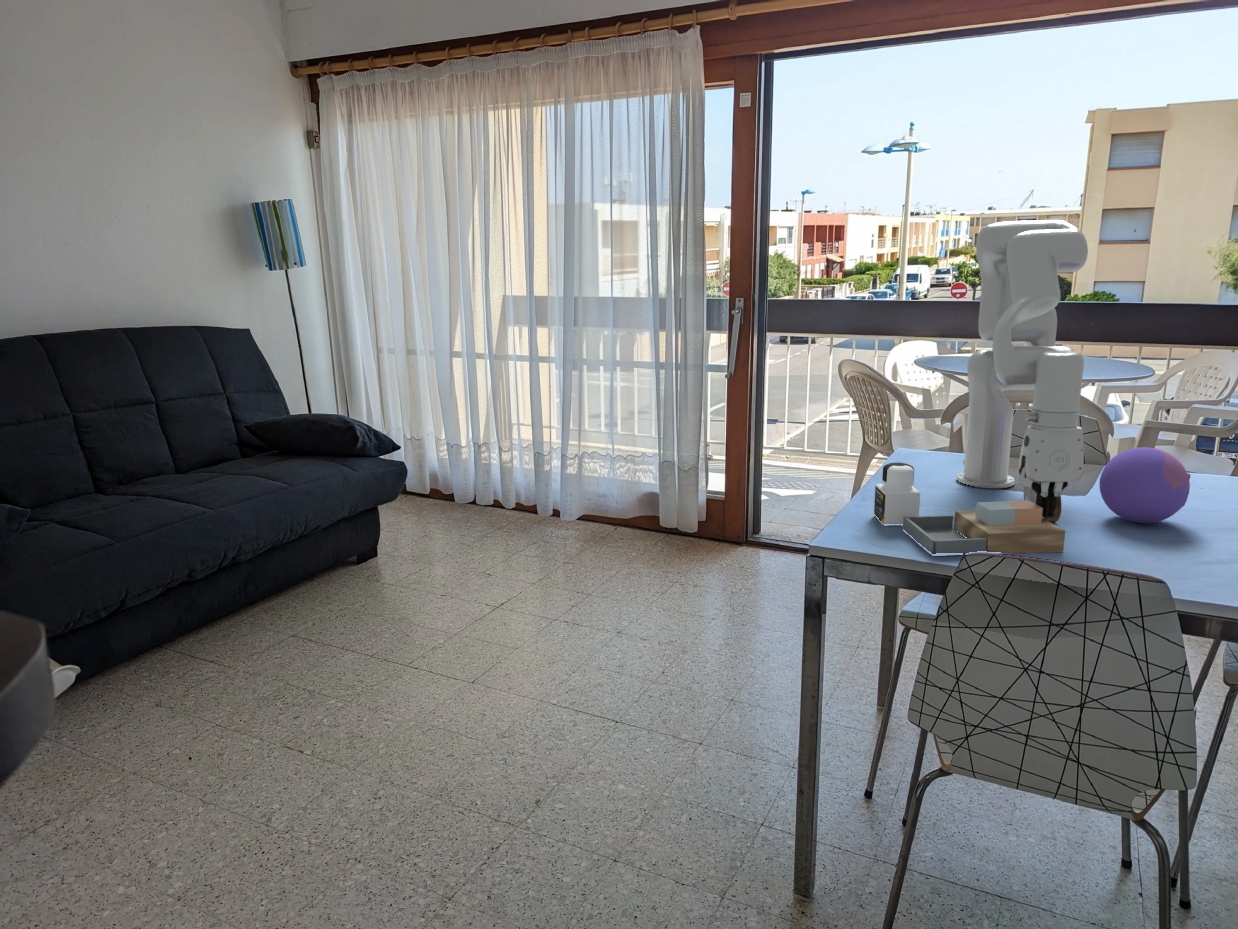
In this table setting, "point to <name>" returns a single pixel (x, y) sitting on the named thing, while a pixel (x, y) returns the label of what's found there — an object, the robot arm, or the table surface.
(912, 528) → the tray
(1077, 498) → the table surface
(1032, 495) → the tin
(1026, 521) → the tile terracotta
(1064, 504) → the table surface
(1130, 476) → the decorative ball
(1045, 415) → the robot arm
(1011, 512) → the tile slate
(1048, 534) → the board
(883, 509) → the medicine bottle
